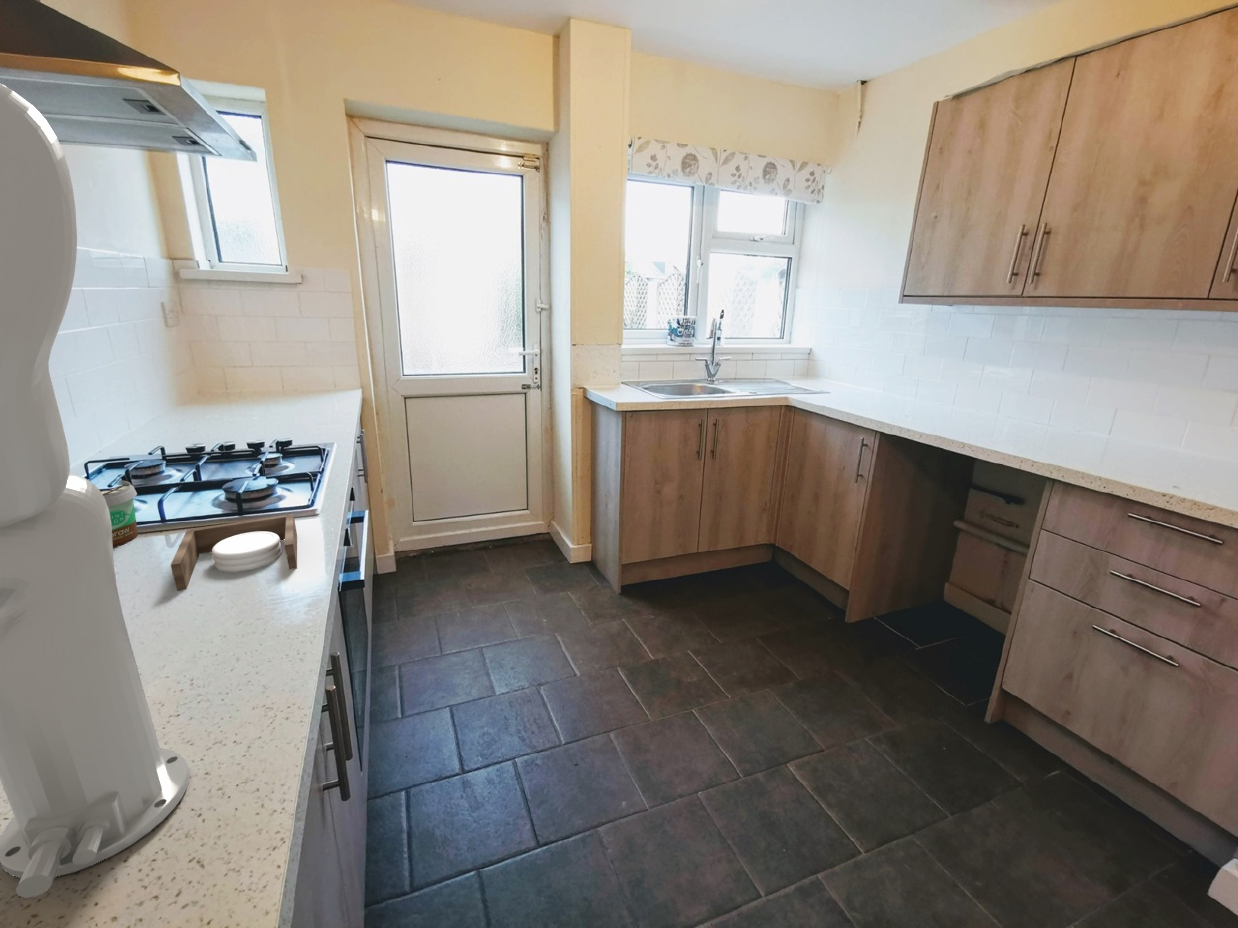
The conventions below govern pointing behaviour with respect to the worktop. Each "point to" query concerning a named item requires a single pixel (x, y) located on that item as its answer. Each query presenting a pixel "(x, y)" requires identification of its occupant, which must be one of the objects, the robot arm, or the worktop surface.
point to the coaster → (246, 551)
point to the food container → (122, 513)
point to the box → (209, 536)
